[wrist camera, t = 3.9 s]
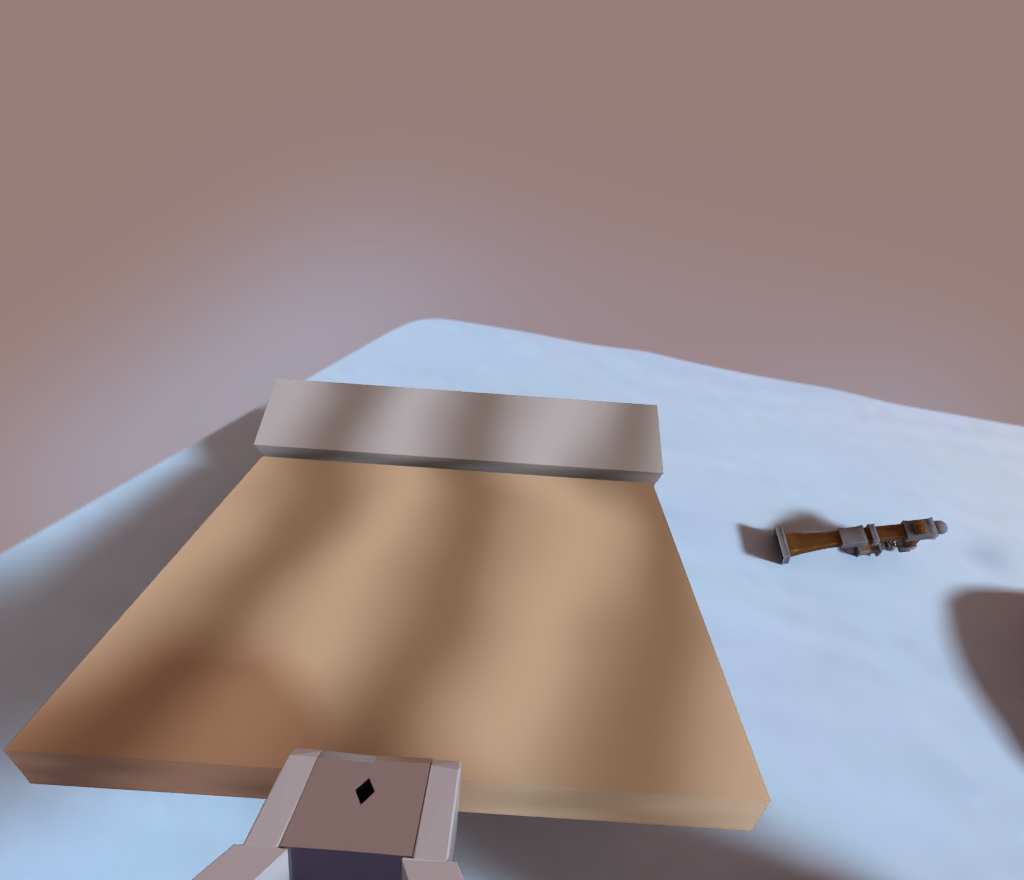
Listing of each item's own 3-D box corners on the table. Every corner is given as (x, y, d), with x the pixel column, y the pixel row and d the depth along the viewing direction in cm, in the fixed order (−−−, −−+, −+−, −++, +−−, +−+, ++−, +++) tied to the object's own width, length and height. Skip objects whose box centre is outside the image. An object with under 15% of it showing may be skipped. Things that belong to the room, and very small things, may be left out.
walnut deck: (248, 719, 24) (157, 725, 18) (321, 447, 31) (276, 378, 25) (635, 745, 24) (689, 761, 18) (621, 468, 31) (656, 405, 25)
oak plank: (30, 783, 12) (3, 750, 12) (268, 483, 24) (262, 456, 23) (751, 830, 12) (770, 801, 12) (646, 509, 24) (652, 483, 23)
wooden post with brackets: (931, 560, 29) (960, 539, 25) (778, 574, 31) (783, 557, 27) (918, 529, 29) (945, 504, 26) (770, 546, 32) (775, 525, 28)
